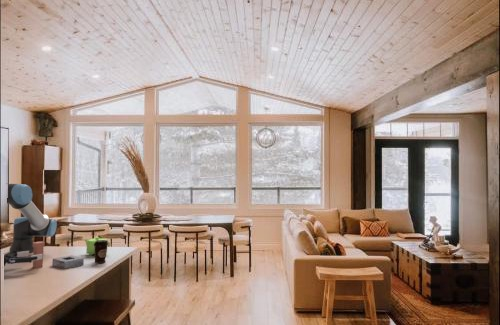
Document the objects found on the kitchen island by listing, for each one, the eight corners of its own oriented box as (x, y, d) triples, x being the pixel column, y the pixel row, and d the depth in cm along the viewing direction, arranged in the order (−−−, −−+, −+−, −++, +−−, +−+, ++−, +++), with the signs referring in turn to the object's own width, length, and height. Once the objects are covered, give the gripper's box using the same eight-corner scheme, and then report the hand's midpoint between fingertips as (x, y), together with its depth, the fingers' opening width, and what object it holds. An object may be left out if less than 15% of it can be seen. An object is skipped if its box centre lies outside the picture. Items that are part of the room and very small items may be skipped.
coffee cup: (110, 261, 246) (111, 240, 246) (101, 264, 238) (102, 242, 238) (99, 260, 249) (100, 239, 249) (89, 262, 241) (90, 241, 241)
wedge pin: (31, 267, 225) (32, 242, 226) (40, 265, 230) (41, 241, 230) (35, 268, 224) (36, 243, 224) (43, 266, 228) (44, 242, 228)
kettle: (89, 257, 255) (90, 240, 255) (80, 253, 265) (81, 237, 265) (111, 254, 265) (112, 237, 266) (102, 251, 275) (102, 235, 276)
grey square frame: (52, 265, 231) (52, 258, 231) (71, 261, 241) (71, 255, 241) (64, 268, 225) (64, 261, 225) (83, 265, 235) (83, 258, 235)
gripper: (-18, 264, 214) (23, 258, 231) (6, 272, 200) (47, 264, 218) (-17, 250, 214) (23, 245, 232) (7, 257, 200) (48, 251, 218)
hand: (35, 254), depth 225 cm, fingers open, 13 cm apart
